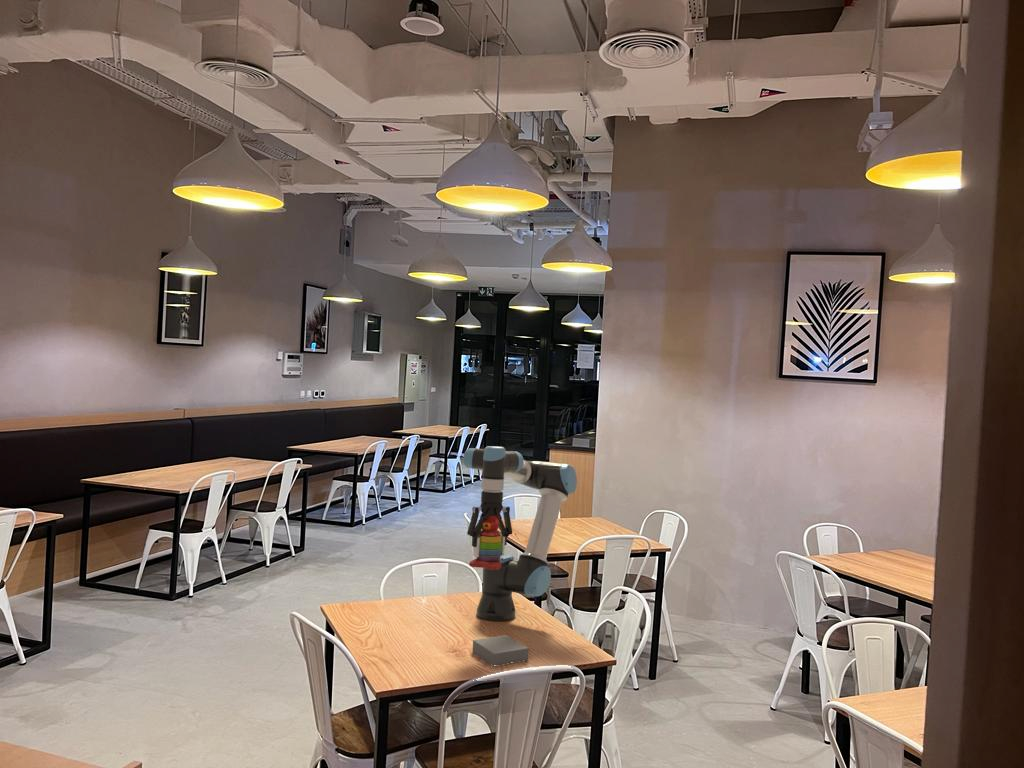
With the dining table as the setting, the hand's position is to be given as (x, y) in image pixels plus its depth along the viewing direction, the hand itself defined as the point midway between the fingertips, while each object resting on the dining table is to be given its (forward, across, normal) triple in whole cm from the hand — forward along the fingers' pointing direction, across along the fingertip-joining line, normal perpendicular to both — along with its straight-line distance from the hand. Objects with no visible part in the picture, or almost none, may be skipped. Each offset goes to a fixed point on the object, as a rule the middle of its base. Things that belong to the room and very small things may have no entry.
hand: (488, 555), depth 251 cm
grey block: (+30, +1, +14) cm, 33 cm away
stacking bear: (+4, 0, 0) cm, 4 cm away
